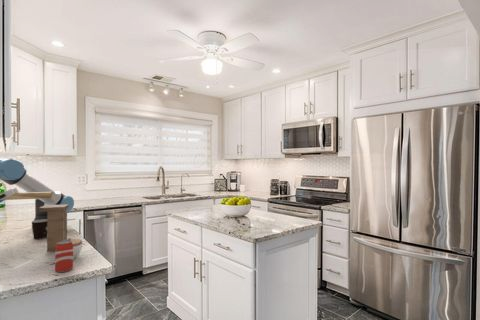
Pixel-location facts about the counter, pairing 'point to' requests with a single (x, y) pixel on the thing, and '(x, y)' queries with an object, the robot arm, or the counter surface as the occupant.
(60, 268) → the beverage can
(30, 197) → the tan wooden bar
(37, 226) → the coffee mug
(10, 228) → the counter surface
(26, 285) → the counter surface
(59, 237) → the walnut stand
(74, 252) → the lidded jar
